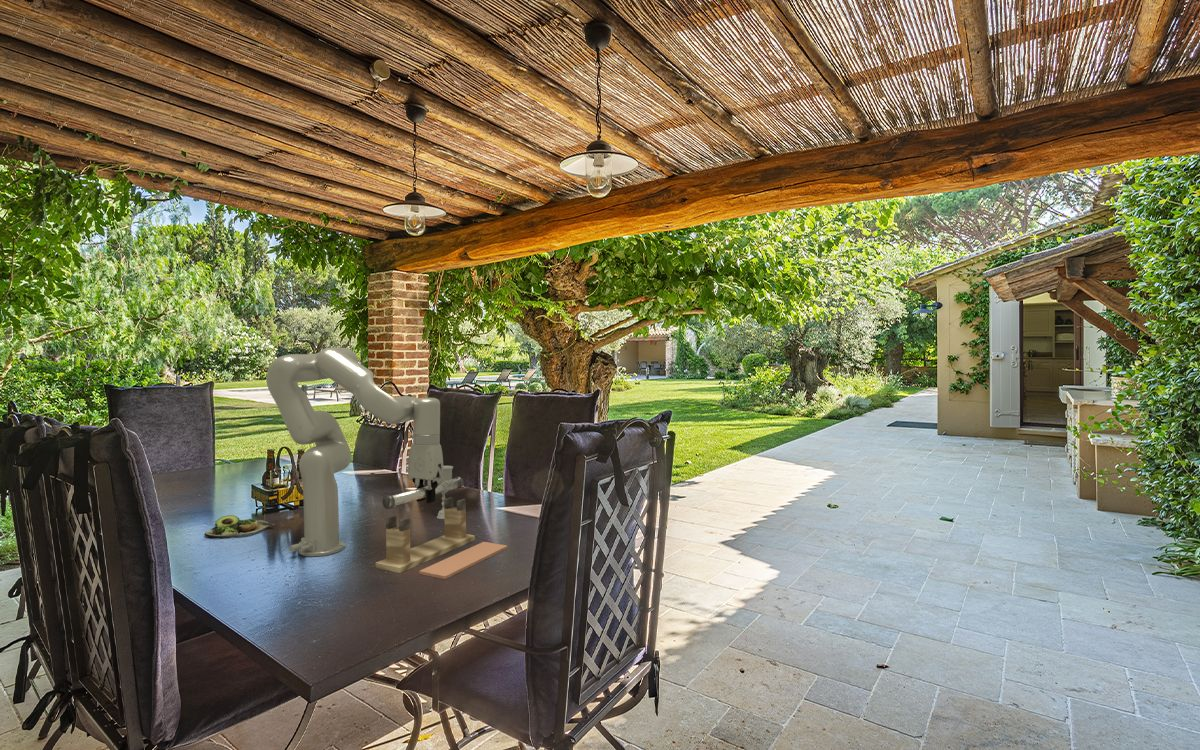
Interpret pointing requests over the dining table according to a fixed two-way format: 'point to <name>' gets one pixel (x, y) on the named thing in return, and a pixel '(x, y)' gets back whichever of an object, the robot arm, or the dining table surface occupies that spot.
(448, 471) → the chalice
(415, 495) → the steel rail
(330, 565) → the dining table surface
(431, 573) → the terracotta mat
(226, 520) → the salad plate
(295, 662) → the dining table surface
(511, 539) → the dining table surface
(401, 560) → the rail stand
